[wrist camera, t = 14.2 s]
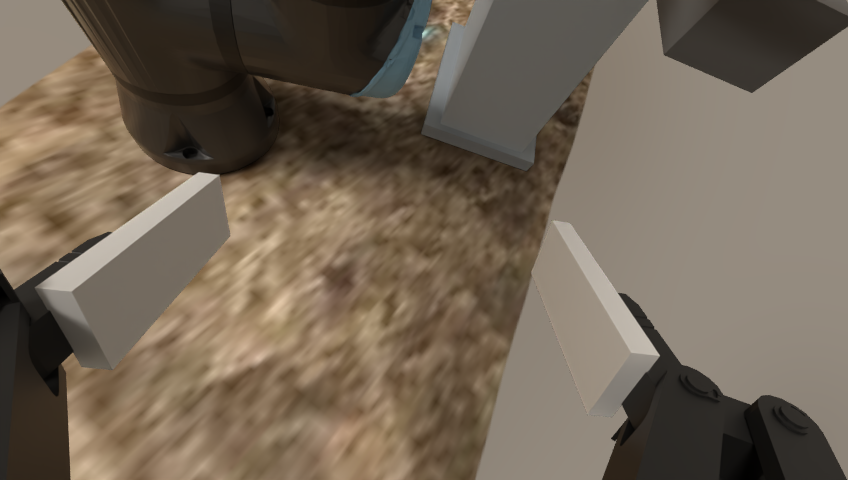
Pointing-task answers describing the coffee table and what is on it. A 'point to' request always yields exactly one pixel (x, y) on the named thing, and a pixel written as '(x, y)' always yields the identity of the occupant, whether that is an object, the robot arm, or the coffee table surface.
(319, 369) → the coffee table surface
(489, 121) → the post
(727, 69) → the bar
